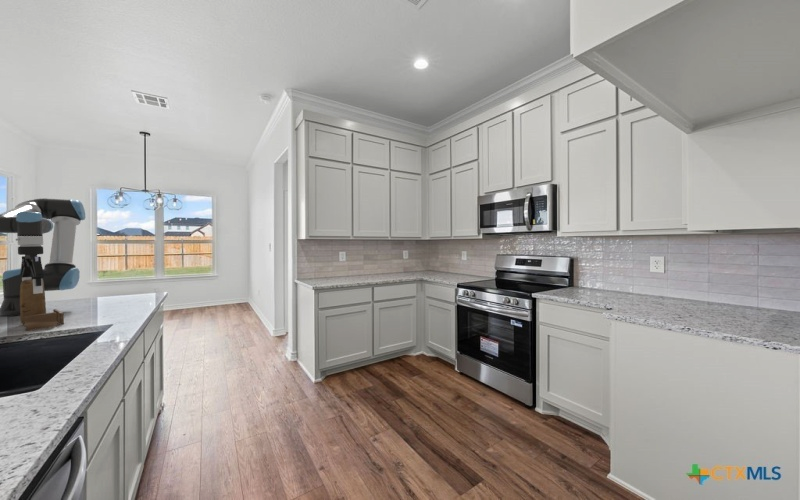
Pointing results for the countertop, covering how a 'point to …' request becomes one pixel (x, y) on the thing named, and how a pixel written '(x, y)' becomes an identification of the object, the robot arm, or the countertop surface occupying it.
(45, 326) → the lane backstop
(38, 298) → the block
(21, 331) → the countertop surface
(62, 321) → the lane rail
